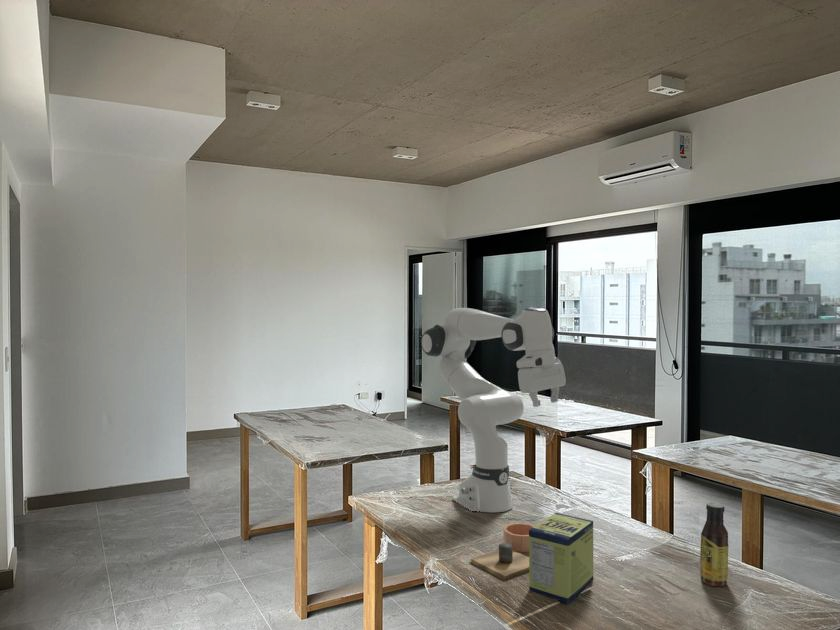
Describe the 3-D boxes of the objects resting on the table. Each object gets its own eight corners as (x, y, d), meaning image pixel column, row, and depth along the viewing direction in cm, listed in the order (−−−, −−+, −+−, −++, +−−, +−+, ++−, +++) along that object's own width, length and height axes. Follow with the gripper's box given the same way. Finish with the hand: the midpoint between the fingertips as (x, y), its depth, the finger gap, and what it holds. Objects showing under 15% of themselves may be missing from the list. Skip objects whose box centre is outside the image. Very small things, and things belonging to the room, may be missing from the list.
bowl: (496, 545, 178) (496, 528, 177) (521, 537, 183) (521, 520, 183) (521, 556, 169) (521, 538, 169) (546, 547, 175) (546, 530, 175)
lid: (471, 562, 165) (471, 544, 164) (506, 550, 172) (506, 533, 172) (505, 580, 154) (504, 560, 154) (540, 566, 162) (540, 547, 162)
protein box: (594, 581, 154) (594, 519, 154) (568, 605, 142) (568, 539, 142) (555, 570, 161) (555, 511, 161) (528, 592, 149) (527, 529, 148)
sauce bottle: (695, 576, 156) (695, 499, 156) (720, 576, 156) (720, 499, 156) (707, 588, 150) (707, 508, 149) (733, 588, 150) (733, 508, 149)
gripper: (551, 357, 198) (556, 399, 197) (512, 362, 184) (517, 409, 183) (568, 356, 194) (573, 399, 193) (530, 361, 179) (535, 409, 179)
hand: (545, 404), depth 188 cm, fingers open, 8 cm apart
